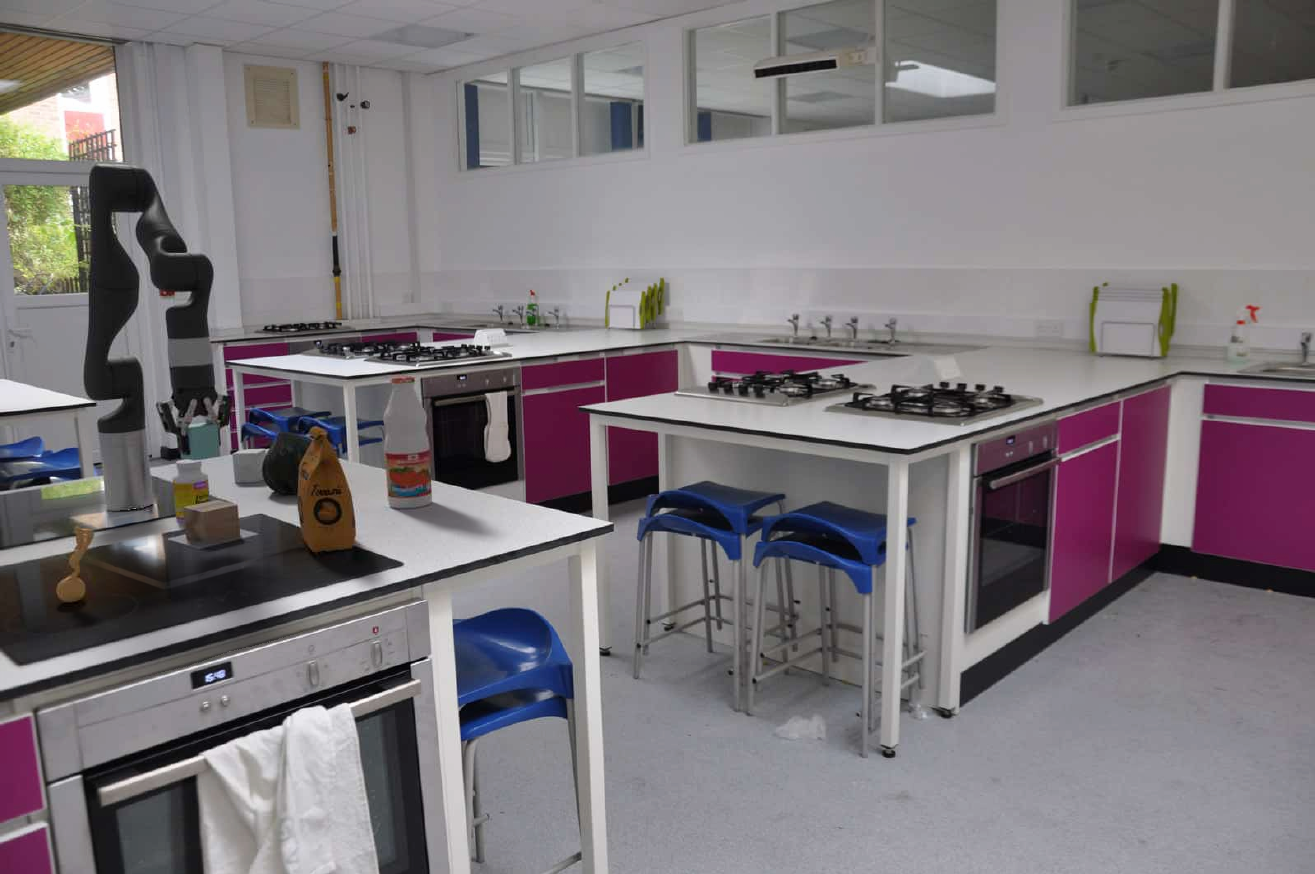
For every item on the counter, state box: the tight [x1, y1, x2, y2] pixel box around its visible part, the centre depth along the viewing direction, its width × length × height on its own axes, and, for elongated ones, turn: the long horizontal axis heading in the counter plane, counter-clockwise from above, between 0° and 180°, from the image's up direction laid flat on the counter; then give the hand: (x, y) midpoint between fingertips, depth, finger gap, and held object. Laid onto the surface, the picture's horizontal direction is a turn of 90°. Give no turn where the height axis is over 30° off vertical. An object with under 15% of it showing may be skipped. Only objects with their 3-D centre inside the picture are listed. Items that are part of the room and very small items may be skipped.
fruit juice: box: [383, 375, 433, 509], centre depth 219 cm, size 9×9×28 cm
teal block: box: [180, 422, 221, 461], centre depth 190 cm, size 5×5×6 cm
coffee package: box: [297, 425, 357, 553], centre depth 188 cm, size 10×12×22 cm
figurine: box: [56, 526, 95, 603], centre depth 160 cm, size 8×6×12 cm
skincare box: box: [231, 448, 267, 484], centre depth 249 cm, size 6×6×7 cm
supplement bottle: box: [172, 459, 211, 522], centre depth 208 cm, size 7×7×13 cm
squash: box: [262, 431, 313, 495], centre depth 235 cm, size 14×15×15 cm
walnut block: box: [183, 499, 241, 543], centre depth 193 cm, size 7×7×6 cm
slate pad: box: [167, 528, 260, 550], centre depth 194 cm, size 12×12×1 cm
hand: (200, 451), depth 190 cm, fingers closed on teal block, 5 cm apart
